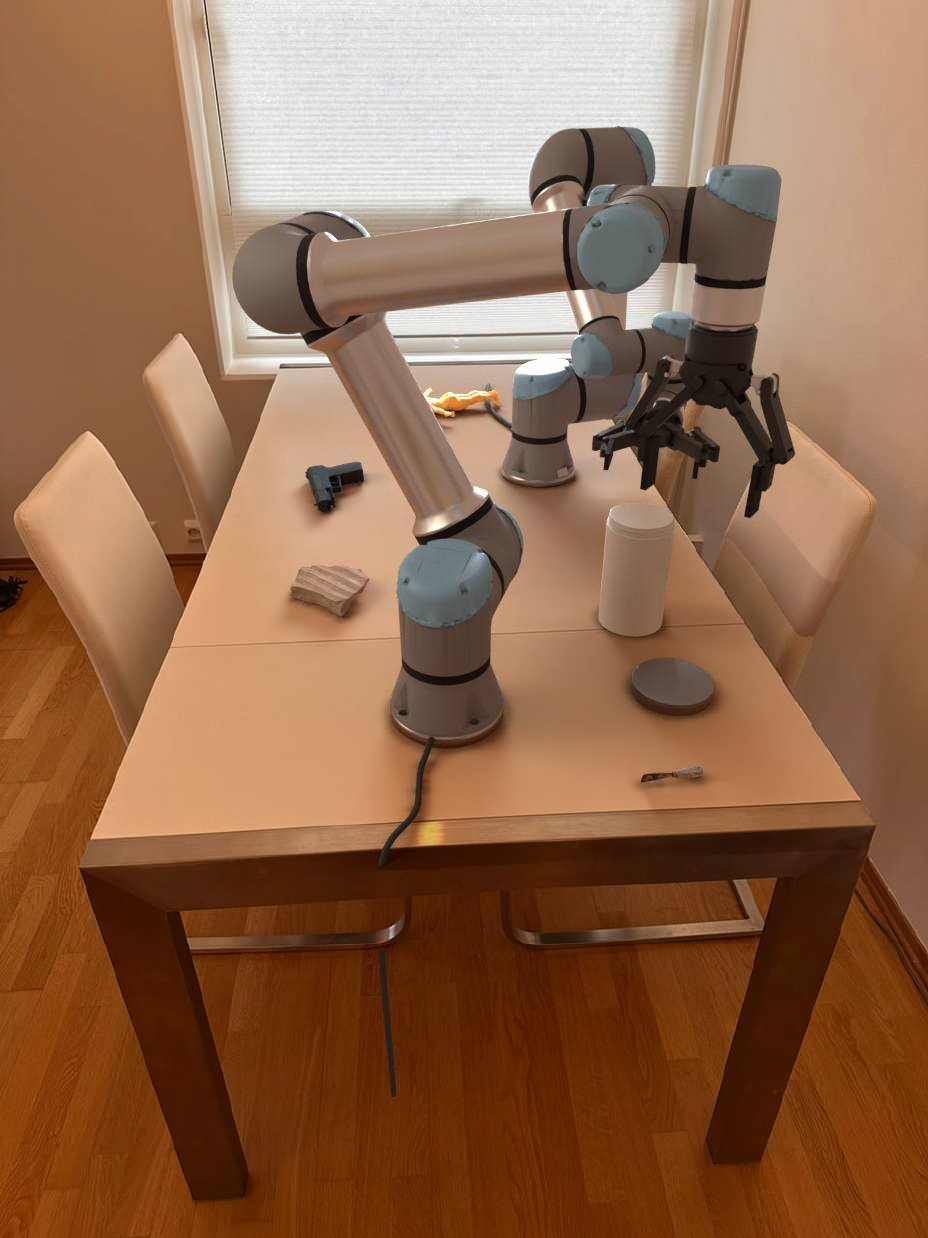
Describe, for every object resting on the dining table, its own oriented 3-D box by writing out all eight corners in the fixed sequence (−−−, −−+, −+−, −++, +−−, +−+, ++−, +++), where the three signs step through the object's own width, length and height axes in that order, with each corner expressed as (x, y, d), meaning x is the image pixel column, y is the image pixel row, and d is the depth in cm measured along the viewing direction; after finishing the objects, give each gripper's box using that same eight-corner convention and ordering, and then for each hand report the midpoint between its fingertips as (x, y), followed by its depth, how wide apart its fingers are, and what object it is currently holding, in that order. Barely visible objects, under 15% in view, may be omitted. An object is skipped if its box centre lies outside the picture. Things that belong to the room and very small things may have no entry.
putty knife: (703, 777, 109) (705, 767, 109) (642, 788, 108) (644, 777, 107) (700, 772, 110) (702, 762, 109) (639, 782, 109) (640, 771, 108)
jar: (671, 614, 142) (686, 510, 133) (647, 643, 135) (660, 535, 125) (614, 597, 147) (624, 495, 137) (587, 624, 140) (596, 519, 130)
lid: (652, 659, 132) (653, 649, 131) (724, 685, 126) (726, 675, 125) (616, 696, 124) (617, 686, 123) (692, 726, 118) (694, 715, 117)
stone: (378, 583, 151) (377, 570, 149) (343, 618, 141) (342, 604, 140) (312, 570, 155) (310, 557, 154) (274, 603, 146) (272, 589, 144)
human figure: (395, 413, 223) (394, 398, 221) (438, 390, 237) (438, 375, 235) (462, 429, 215) (462, 413, 213) (502, 404, 229) (503, 388, 227)
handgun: (375, 507, 177) (315, 514, 174) (360, 472, 191) (304, 479, 188) (374, 492, 175) (313, 499, 172) (359, 458, 189) (302, 465, 187)
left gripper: (849, 332, 94) (809, 514, 106) (637, 301, 107) (621, 466, 118) (826, 347, 89) (787, 537, 101) (607, 313, 102) (593, 485, 113)
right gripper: (731, 447, 154) (730, 497, 137) (588, 434, 160) (569, 480, 142) (738, 405, 150) (738, 450, 133) (591, 393, 156) (571, 435, 138)
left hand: (697, 499), depth 110 cm, fingers open, 13 cm apart
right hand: (650, 466), depth 138 cm, fingers open, 13 cm apart
